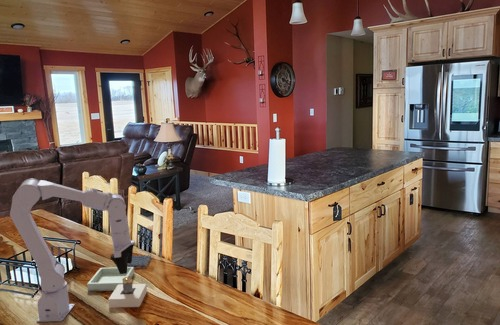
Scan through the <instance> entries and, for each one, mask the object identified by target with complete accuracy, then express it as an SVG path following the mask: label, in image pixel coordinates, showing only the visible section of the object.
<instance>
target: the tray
mask: <svg viewBox="0 0 500 325" xmlns="http://www.w3.org/2000/svg"><path fill="white" fill-rule="evenodd" d="M134 275H135V269H134V267H127V273H126V274H120V273H119V271H118V268H117V266H115V267H114V266H113V267H99V269H98V270H97V271H96V273H95V274H94V275H93V276H92V277H91V279H90V280H89V281H88V282H87V284H86V286H87V292H104V291H105V292H106V291H114V290H115V288H116V287H117V285H119V284H123V280H122V279H123V278H125V277H131V278H132V279H133V277H134Z"/></svg>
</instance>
